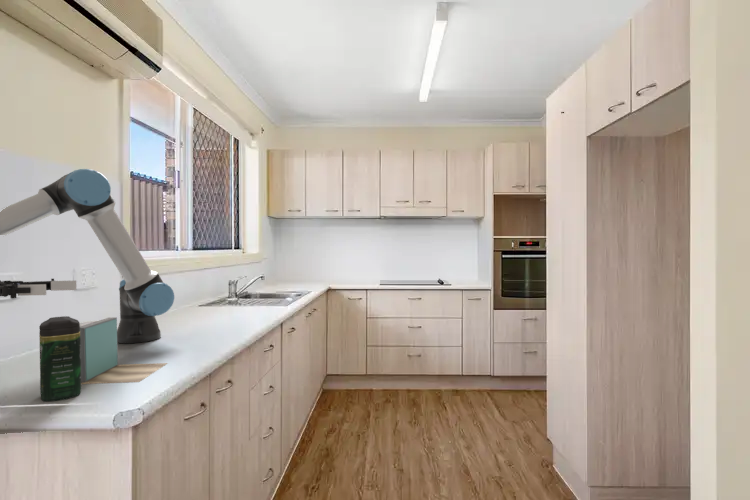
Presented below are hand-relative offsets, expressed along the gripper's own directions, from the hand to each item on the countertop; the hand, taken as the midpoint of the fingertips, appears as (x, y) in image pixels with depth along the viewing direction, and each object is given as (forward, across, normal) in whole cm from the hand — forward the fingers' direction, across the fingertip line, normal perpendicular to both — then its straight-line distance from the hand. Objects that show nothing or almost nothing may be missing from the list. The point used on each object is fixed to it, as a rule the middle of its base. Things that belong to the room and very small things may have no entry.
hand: (61, 287), depth 120 cm
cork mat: (+15, 0, -24) cm, 29 cm away
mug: (-6, -23, -24) cm, 34 cm away
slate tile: (+9, 0, -24) cm, 25 cm away
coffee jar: (+10, +17, -24) cm, 31 cm away
